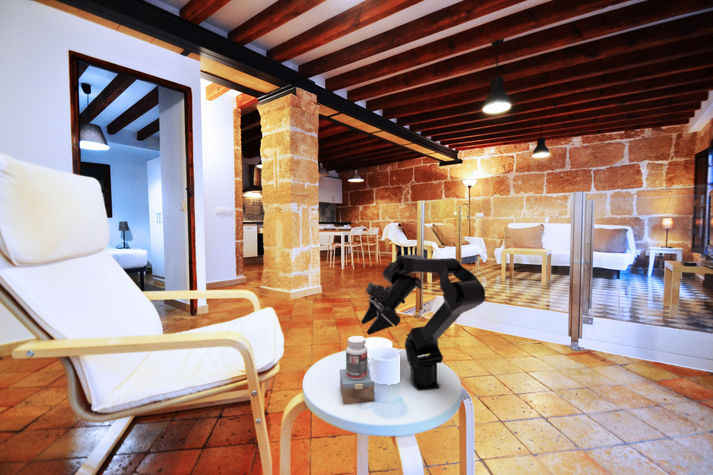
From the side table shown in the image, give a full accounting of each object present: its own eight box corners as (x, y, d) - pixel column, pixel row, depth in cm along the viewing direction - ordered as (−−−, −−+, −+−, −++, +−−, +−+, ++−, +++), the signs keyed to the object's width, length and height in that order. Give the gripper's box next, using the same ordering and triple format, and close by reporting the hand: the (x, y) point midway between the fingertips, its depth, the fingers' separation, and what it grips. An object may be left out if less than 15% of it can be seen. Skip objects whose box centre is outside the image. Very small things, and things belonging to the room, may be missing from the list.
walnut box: (368, 384, 86) (368, 371, 86) (374, 401, 78) (374, 386, 78) (340, 387, 85) (340, 373, 85) (343, 404, 77) (343, 388, 77)
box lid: (368, 371, 86) (368, 367, 86) (374, 387, 77) (374, 382, 77) (339, 374, 85) (339, 369, 85) (343, 390, 76) (342, 385, 76)
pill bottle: (365, 381, 78) (365, 343, 77) (344, 379, 79) (343, 342, 79) (368, 371, 84) (368, 335, 83) (348, 369, 85) (348, 334, 84)
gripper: (374, 269, 102) (342, 303, 101) (389, 279, 84) (350, 320, 83) (397, 291, 104) (366, 324, 103) (416, 305, 86) (378, 346, 84)
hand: (364, 328), depth 93 cm, fingers open, 9 cm apart
